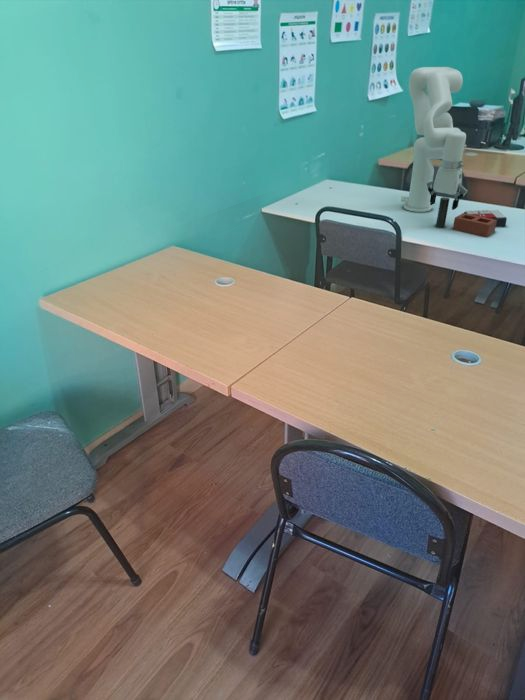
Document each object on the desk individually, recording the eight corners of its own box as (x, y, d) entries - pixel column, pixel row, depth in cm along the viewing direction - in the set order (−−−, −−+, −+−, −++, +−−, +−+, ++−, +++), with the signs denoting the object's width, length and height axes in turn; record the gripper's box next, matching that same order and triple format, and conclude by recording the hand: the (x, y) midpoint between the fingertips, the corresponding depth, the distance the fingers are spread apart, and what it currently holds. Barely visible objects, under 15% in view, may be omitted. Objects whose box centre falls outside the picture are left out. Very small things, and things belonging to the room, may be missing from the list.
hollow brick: (452, 229, 217) (454, 217, 215) (460, 224, 222) (463, 213, 220) (486, 237, 209) (489, 225, 206) (494, 231, 214) (497, 220, 211)
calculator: (464, 210, 228) (499, 208, 226) (462, 219, 230) (497, 218, 228) (470, 217, 218) (507, 216, 217) (469, 227, 220) (505, 226, 219)
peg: (434, 226, 220) (439, 198, 214) (438, 224, 223) (443, 196, 216) (442, 228, 218) (447, 200, 212) (445, 226, 220) (451, 198, 214)
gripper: (475, 166, 205) (466, 208, 214) (435, 159, 214) (428, 200, 224) (467, 169, 200) (458, 213, 209) (426, 163, 210) (420, 204, 219)
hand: (443, 206), depth 217 cm, fingers open, 9 cm apart
